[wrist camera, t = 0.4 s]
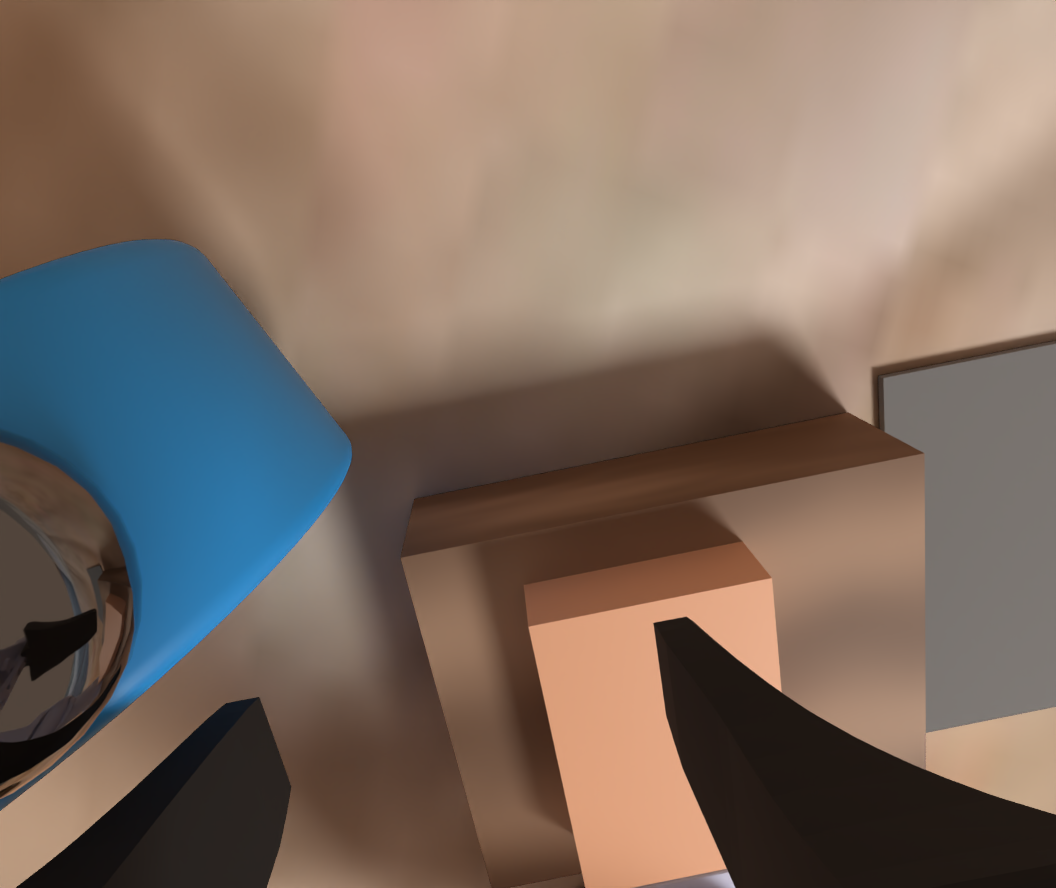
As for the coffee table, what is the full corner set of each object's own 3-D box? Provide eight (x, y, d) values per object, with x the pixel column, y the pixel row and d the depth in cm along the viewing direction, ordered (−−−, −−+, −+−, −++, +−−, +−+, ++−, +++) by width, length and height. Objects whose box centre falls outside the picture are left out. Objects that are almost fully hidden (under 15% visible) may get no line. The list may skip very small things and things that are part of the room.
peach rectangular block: (767, 798, 22) (795, 854, 20) (577, 836, 22) (587, 896, 20) (742, 541, 19) (772, 577, 17) (523, 585, 19) (528, 626, 17)
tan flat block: (860, 717, 26) (926, 803, 22) (490, 791, 26) (492, 891, 22) (848, 412, 22) (924, 453, 18) (414, 499, 22) (400, 557, 18)
